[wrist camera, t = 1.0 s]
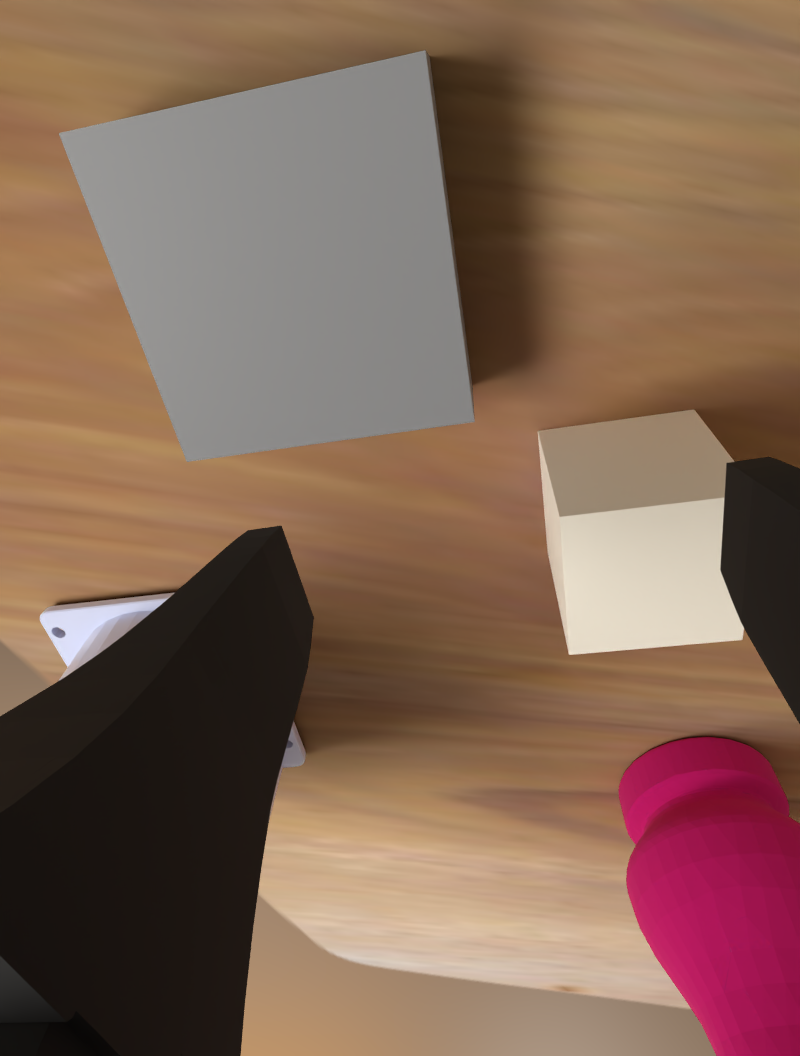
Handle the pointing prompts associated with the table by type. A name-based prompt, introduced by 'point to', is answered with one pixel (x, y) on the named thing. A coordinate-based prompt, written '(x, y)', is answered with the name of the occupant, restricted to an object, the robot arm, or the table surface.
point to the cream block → (637, 532)
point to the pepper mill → (719, 888)
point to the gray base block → (288, 258)
